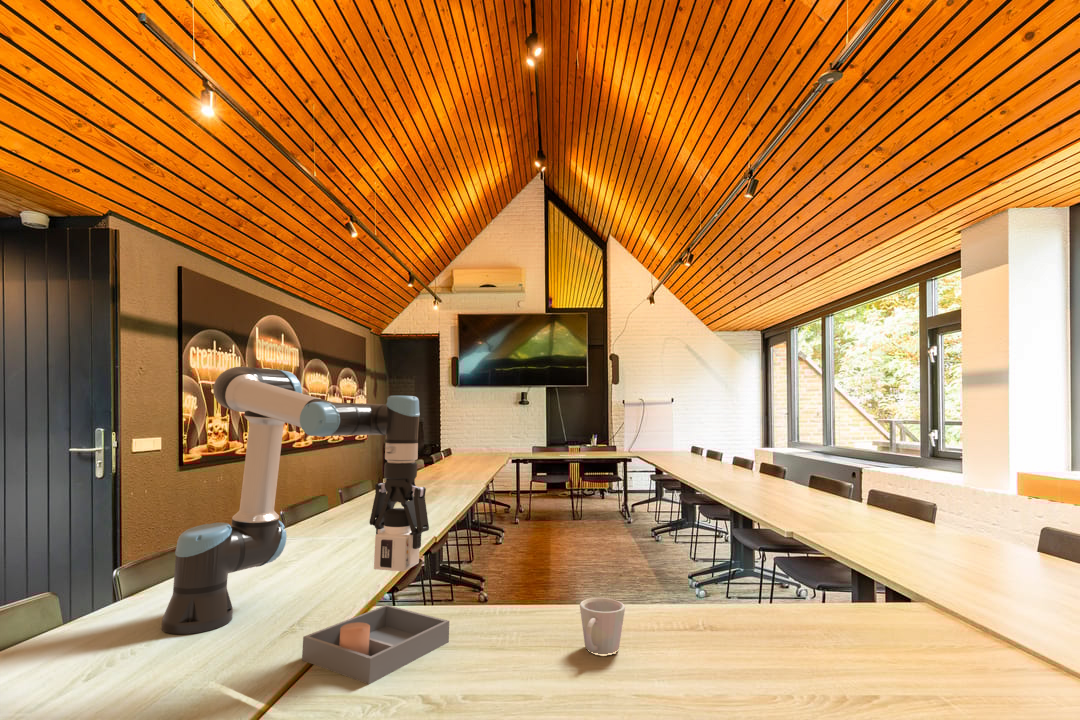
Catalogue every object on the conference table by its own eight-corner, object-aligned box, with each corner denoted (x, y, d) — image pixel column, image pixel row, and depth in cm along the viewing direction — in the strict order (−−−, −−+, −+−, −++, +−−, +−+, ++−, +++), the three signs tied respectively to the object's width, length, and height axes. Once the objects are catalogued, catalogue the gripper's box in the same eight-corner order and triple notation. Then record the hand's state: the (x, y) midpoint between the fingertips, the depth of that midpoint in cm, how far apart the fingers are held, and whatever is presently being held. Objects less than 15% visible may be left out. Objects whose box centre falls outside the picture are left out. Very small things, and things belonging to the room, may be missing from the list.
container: (405, 572, 125) (407, 512, 126) (373, 569, 126) (375, 510, 127) (419, 563, 132) (421, 507, 133) (389, 561, 134) (391, 505, 135)
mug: (630, 645, 131) (630, 601, 132) (610, 671, 117) (611, 622, 118) (588, 637, 135) (588, 594, 136) (564, 661, 122) (565, 613, 123)
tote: (301, 663, 118) (303, 636, 119) (385, 627, 139) (386, 604, 139) (369, 688, 108) (370, 658, 109) (448, 645, 129) (449, 620, 129)
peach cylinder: (332, 664, 116) (334, 629, 117) (354, 654, 122) (356, 620, 122) (352, 671, 113) (354, 635, 114) (374, 660, 119) (376, 626, 119)
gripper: (356, 459, 134) (351, 556, 131) (425, 465, 123) (421, 570, 121) (379, 458, 140) (375, 550, 138) (447, 462, 129) (444, 563, 127)
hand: (397, 559), depth 129 cm, fingers closed on container, 9 cm apart
